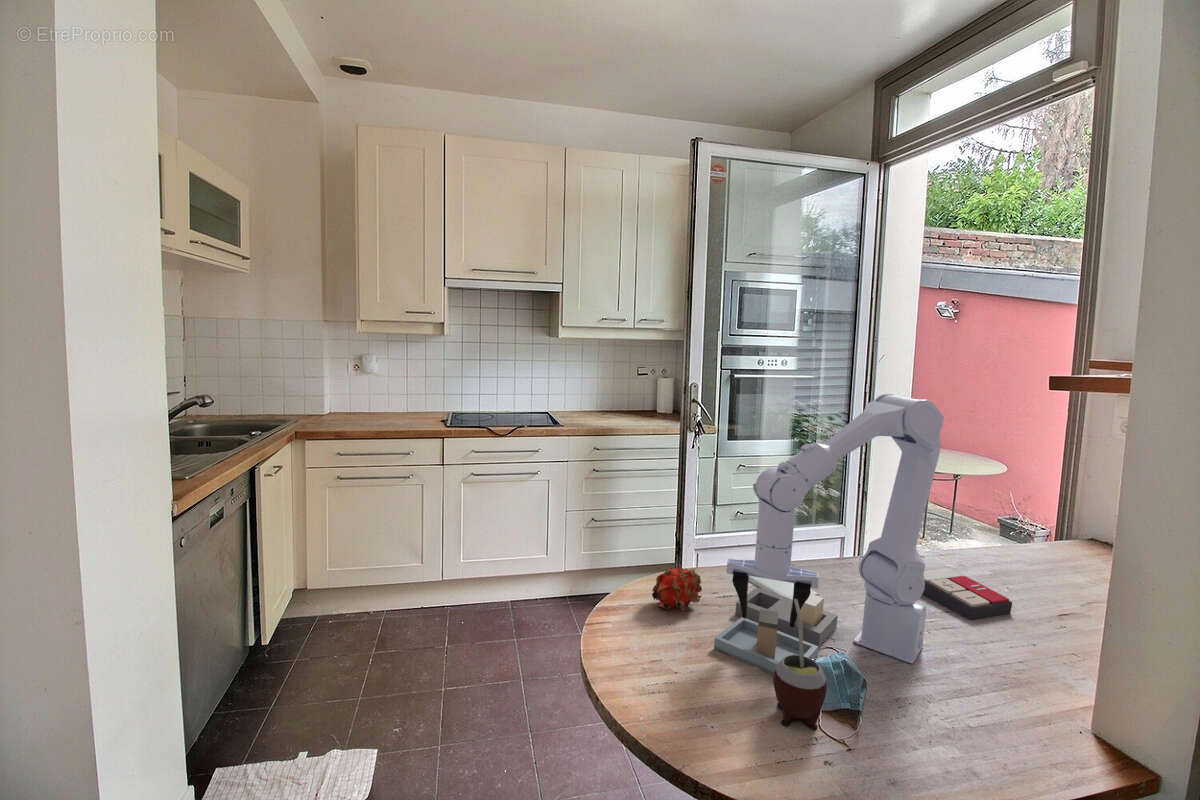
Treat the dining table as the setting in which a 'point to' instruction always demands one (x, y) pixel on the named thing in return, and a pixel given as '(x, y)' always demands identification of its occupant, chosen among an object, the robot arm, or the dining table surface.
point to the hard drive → (776, 586)
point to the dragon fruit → (677, 588)
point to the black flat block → (964, 595)
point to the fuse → (812, 610)
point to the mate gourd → (799, 685)
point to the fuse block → (787, 616)
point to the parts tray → (743, 645)
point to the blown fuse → (767, 633)
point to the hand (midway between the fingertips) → (767, 619)
